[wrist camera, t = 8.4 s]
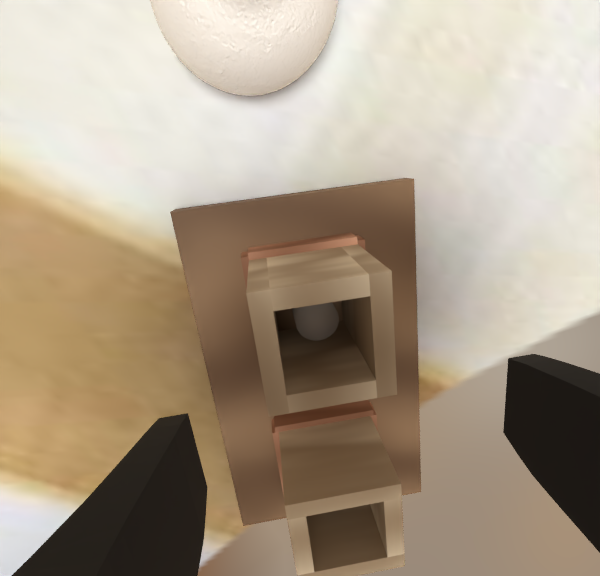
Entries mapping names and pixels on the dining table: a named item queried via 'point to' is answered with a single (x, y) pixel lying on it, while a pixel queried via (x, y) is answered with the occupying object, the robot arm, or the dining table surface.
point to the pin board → (235, 327)
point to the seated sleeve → (339, 491)
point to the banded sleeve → (336, 348)
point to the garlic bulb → (246, 39)
